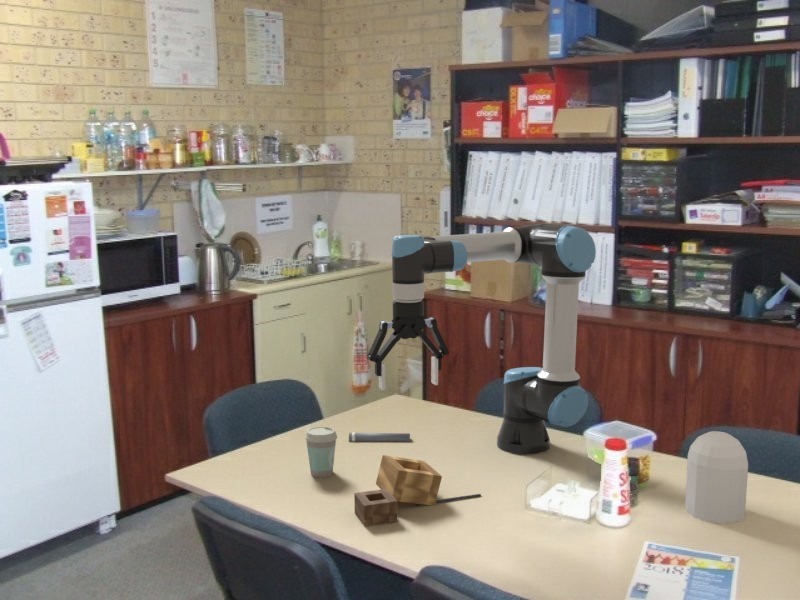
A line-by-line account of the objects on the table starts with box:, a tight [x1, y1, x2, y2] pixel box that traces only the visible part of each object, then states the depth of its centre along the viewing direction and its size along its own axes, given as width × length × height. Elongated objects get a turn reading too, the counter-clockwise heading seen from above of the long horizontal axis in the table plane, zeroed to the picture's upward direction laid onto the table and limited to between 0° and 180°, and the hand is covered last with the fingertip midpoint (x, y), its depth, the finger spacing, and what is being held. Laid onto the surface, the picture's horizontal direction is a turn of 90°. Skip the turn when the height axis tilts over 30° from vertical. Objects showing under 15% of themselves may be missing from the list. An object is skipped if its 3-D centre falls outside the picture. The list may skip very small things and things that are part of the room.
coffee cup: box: [304, 426, 338, 478], centre depth 230 cm, size 9×8×12 cm
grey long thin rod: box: [417, 493, 482, 507], centre depth 212 cm, size 17×1×1 cm, turn 109°
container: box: [684, 430, 749, 525], centre depth 203 cm, size 13×13×20 cm
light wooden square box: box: [375, 454, 443, 506], centre depth 213 cm, size 12×12×8 cm
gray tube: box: [348, 431, 411, 443], centre depth 256 cm, size 3×3×18 cm
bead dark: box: [353, 489, 398, 527], centre depth 202 cm, size 8×8×5 cm
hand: (408, 386), depth 210 cm, fingers open, 13 cm apart
